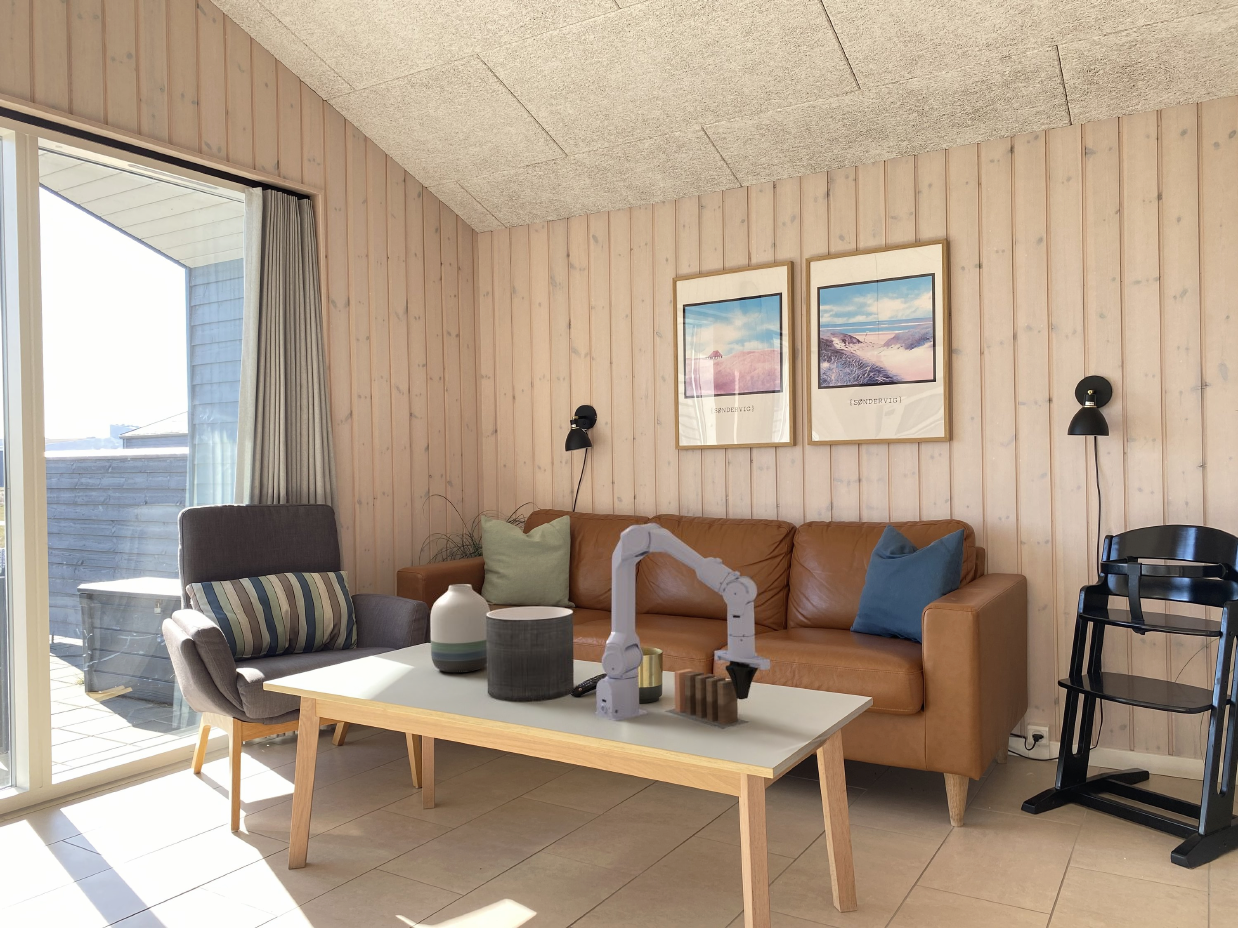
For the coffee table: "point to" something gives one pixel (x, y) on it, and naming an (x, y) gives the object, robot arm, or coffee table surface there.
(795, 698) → the coffee table surface
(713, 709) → the walnut tile
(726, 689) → the walnut tile
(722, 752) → the coffee table surface
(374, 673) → the coffee table surface
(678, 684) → the terracotta tile
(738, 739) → the coffee table surface
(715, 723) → the grey flat rectangular plate
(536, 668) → the planter
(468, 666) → the vase
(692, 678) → the walnut tile
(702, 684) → the walnut tile
